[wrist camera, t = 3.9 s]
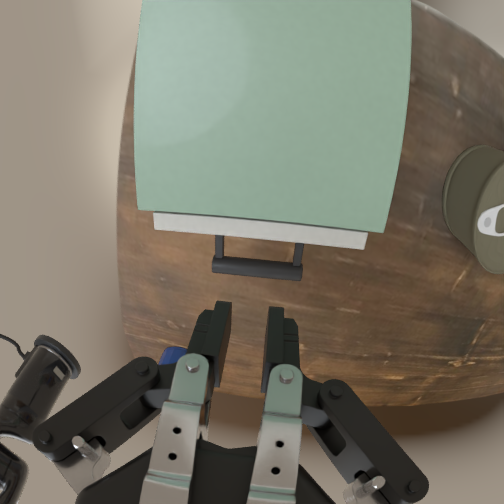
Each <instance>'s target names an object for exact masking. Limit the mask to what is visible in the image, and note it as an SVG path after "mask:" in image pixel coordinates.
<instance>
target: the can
mask: <svg viewBox="0 0 504 504" xmlns="http://www.w3.org/2000/svg"><path fill="white" fill-rule="evenodd" d="M442 209H443V215H444V219H445V222H446V224H447V226H448V228H449V230H450V231H451V233H452V234H453V235H454V236H455V237H456V238H457V239H459V240H460V241H461V242H462V243H463V244H464V245H465V246H466V247H467V248H468V249H469V251H470V252H471V253H472V254H473V255H474V256H475V257H476V258H477V260H478V262H479V263H480V264H481V266H482V267H483V268H484V269H485V270H487V271H488V272H490V273H493V274H503V273H504V151H501V150H499V149H495V148H493V147H490V146H487V145H476V146H472V147H470V148H468V149H466V150H465V151H464V152H462V153H461V154H460V155H459V156H458V157H457V159H456V160H455V161H454V163H453V164H452V166H451V168H450V170H449V172H448V174H447V177H446V180H445V183H444V188H443V195H442Z"/></svg>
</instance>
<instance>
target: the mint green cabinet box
mask: <svg viewBox="0 0 504 504" xmlns="http://www.w3.org/2000/svg"><path fill="white" fill-rule="evenodd" d="M410 66H411V0H143V1H142V9H141V15H140V24H139V32H138V42H137V53H136V67H135V87H134V155H135V176H136V192H137V204H138V210H149V211H165V212H180V213H194V214H207V215H219V216H231V217H243V218H254V219H264V220H275V221H285V222H294V223H304V224H313V225H322V226H330V227H339V228H347V229H355V230H363V231H371V232H379V233H383V232H384V229H385V225H386V221H387V217H388V213H389V208H390V204H391V200H392V195H393V191H394V186H395V181H396V176H397V171H398V166H399V160H400V154H401V148H402V142H403V136H404V129H405V121H406V113H407V104H408V94H409V82H410Z"/></svg>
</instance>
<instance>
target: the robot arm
mask: <svg viewBox="0 0 504 504" xmlns="http://www.w3.org/2000/svg"><path fill="white" fill-rule="evenodd" d="M231 314H232V302H225V301H216V304H215V308H214V310H206V309H205V310H204V311H203V312H202V313H201V314H200V315H199V317H198V319H197V322H196V325H195V328H194V331H193V334H192V337H191V340H190V343H189V346H188V349H187V351H186V354H185V355H184V356H182V357H181V358H180V359H179V360H178V361H177V362H175V363H172V364H161V365H157V363H156V362H155V361H154V360H153V359H151V358H149V357H138V358H136V359H134V360H132V361H131V362H129V363H128V364H127V365H125V366H124V367H122V368H121V369H120V370H118V371H117V372H115V373H114V374H112V375H111V376H110V377H108V378H107V379H105V380H104V381H102V382H101V383H100V384H98V385H97V386H95V387H94V388H92V389H91V390H90V391H88V392H87V393H85V394H84V395H82V396H81V397H80V398H78V399H77V400H75V401H74V402H72V403H71V404H69V405H68V406H66V407H65V408H63V409H62V410H61V411H59V412H58V413H56V414H55V415H53V416H52V417H50V418H49V419H47V418H48V416H49V414H50V412H51V410H52V408H53V407H54V405H55V403H56V401H57V399H58V397H59V396H60V394H61V392H62V390H63V389H64V387H65V385H66V383H67V382H68V380H69V378H70V377H71V376H72V374H73V369H72V367H71V365H70V364H69V362H68V361H67V360H66V359H65V358H64V357H63V356H62V355H61V354H60V353H59V352H58V351H56V350H55V349H54V348H52V347H50V346H48V345H46V344H40V345H35V347H34V348H33V350H32V351H31V352H27V353H26V354H25V355H24V354H23V353H22V352H21V350H20V346H19V345H18V344H17V343H16V342H15V341H14V340H12V339H10V338H9V337H6V336H4V335H2V334H0V338H2V339H5V340H7V341H9V342H11V343H12V344H13V345H15V346H16V347H17V351H18V353H19V354H20V355H21V357H22V358H23V359H24V362H23V364H22V365H21V367H20V368H19V369H18V371H17V372H16V374H15V377H16V380H15V382H14V383H13V385H12V386H11V388H10V390H9V391H8V393H7V394H6V396H5V398H4V399H3V401H2V403H1V405H0V439H1V438H3V437H9V438H13V439H17V440H20V441H22V442H25V443H27V444H34V446H35V447H36V448H37V449H38V450H39V451H40V452H41V453H43V454H44V455H45V456H46V457H47V458H48V459H49V460H50V461H52V462H53V463H54V464H55V466H56V467H57V468H58V470H59V471H60V472H61V474H62V475H63V477H64V478H65V479H66V481H67V482H68V483H69V485H70V486H71V487H72V488H73V490H74V491H75V492H76V493H77V495H78V496H77V499H76V502H75V504H336V503H335V502H334V501H333V500H332V499H331V498H330V497H329V496H328V495H327V494H326V493H325V491H324V490H323V489H322V488H321V487H320V486H319V485H318V484H317V483H316V481H315V480H314V479H313V478H312V477H311V476H310V475H309V474H308V472H307V471H306V470H305V469H304V468H303V467H302V466H301V465H300V464H299V455H300V445H301V434H302V423H303V424H306V425H307V427H308V429H309V430H310V432H311V433H312V435H313V436H314V437H315V439H316V440H317V442H318V443H319V445H320V446H321V447H322V449H323V450H324V452H325V453H326V455H327V456H328V457H329V459H330V460H331V462H332V463H333V464H334V466H335V467H336V468H337V470H338V471H339V473H340V474H341V475H342V477H343V478H344V479H345V480H346V482H347V483H348V485H347V486H346V488H345V490H344V499H345V502H346V503H347V504H413V503H416V502H417V501H419V500H421V499H423V497H425V495H426V494H427V492H428V488H429V482H428V480H427V478H426V476H425V475H424V474H423V473H422V471H421V470H420V469H419V468H418V467H417V466H416V465H415V463H414V462H413V461H412V460H411V459H410V458H409V456H408V455H407V454H406V453H405V452H404V451H403V449H402V448H401V447H400V446H399V445H398V444H397V442H396V441H395V440H394V439H393V438H392V437H391V435H390V434H389V433H388V432H387V431H386V430H385V428H384V427H383V426H382V425H381V424H380V422H379V421H378V420H377V419H376V418H375V416H374V415H373V414H372V413H371V412H370V411H369V409H368V408H367V407H366V406H365V405H364V403H363V402H362V401H361V400H360V399H359V398H358V396H357V395H356V394H355V393H354V392H353V390H352V389H351V388H350V387H349V386H348V385H347V384H346V383H345V382H343V381H341V380H336V379H332V380H328V381H326V382H324V383H323V384H322V383H319V382H316V381H313V380H311V379H309V378H307V377H306V376H305V375H304V374H303V373H302V371H301V369H300V360H299V337H298V326H297V324H296V322H295V321H294V319H290V318H284V308H282V307H271V306H269V311H268V318H267V326H266V334H265V345H264V358H263V371H262V383H261V393H265V402H264V408H263V413H262V420H261V424H260V430H259V435H258V440H257V445H256V446H251V447H243V448H234V449H227V448H223V447H221V446H218V445H215V444H213V443H211V442H208V424H209V416H210V408H211V397H212V394H213V389H214V387H220V382H221V377H222V372H223V368H224V363H225V358H226V353H227V348H228V343H229V338H230V332H231ZM158 414H160V418H159V422H158V427H157V431H156V436H155V440H154V445H153V447H152V448H150V449H148V450H147V451H145V452H144V453H142V454H141V455H139V456H138V457H136V458H135V459H133V460H131V461H130V462H128V463H126V464H125V465H123V466H121V467H120V468H118V469H117V470H115V471H113V472H111V473H110V474H108V475H106V476H105V477H103V478H102V475H103V473H104V471H105V470H106V469H107V468H108V467H109V465H110V455H109V454H110V453H111V452H113V450H115V449H116V448H118V447H119V446H120V445H122V444H123V443H124V442H126V441H127V440H128V439H129V438H131V437H132V436H133V435H134V434H136V433H137V432H138V431H139V430H140V429H142V428H143V427H144V426H145V425H146V424H148V423H149V422H150V421H151V420H153V419H154V418H155V417H156V416H157V415H158ZM28 474H29V468H28V465H27V463H26V462H25V461H24V460H23V459H21V458H20V457H19V456H18V455H17V454H14V452H12V451H11V450H10V449H8V448H7V447H6V446H5V445H3V444H2V443H1V442H0V489H1V490H2V492H1V493H0V504H18V501H19V499H20V497H21V494H22V492H23V489H24V487H25V484H26V482H27V479H28Z"/></svg>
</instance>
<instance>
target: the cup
mask: <svg viewBox="0 0 504 504" xmlns="http://www.w3.org/2000/svg"><path fill="white" fill-rule="evenodd" d="M186 351H187V349H185V348H181V347H169V348H167V349H165V350H164V352H163V354H162V356H161V359H160V361H159V364H158V365H161V364H172V363H175V362H177V361H178V360H179V359H180V358H181V357H182V356H184V355H185V354H186Z"/></svg>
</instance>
